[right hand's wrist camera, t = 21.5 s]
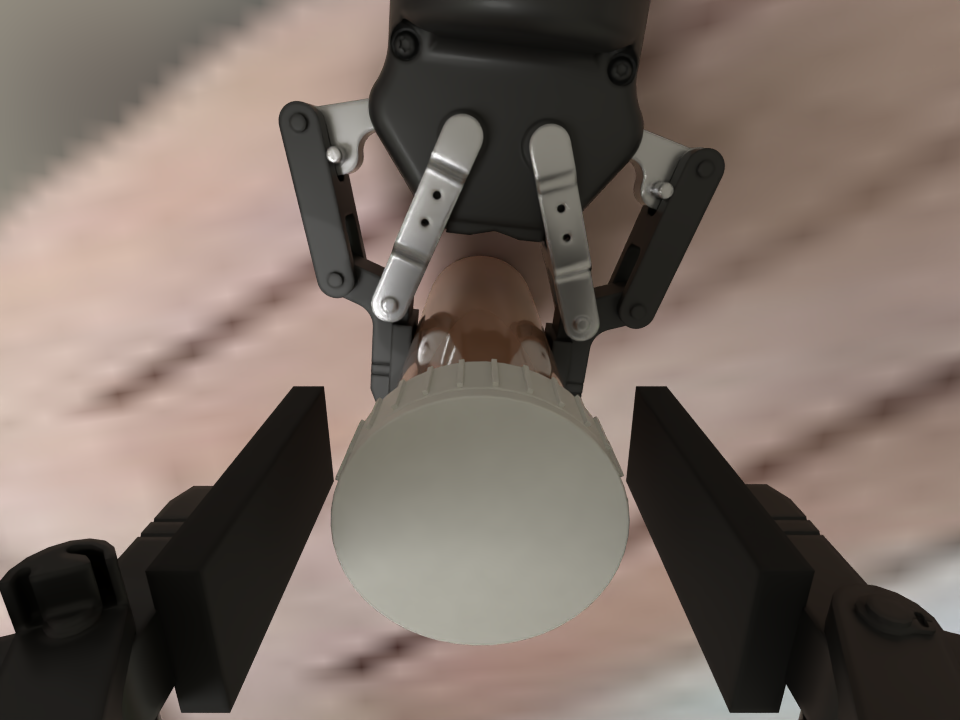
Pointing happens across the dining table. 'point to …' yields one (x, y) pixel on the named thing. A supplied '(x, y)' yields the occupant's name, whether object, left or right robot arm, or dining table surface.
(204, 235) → the dining table surface
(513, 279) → the jar
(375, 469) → the lid
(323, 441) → the right robot arm
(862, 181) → the dining table surface
